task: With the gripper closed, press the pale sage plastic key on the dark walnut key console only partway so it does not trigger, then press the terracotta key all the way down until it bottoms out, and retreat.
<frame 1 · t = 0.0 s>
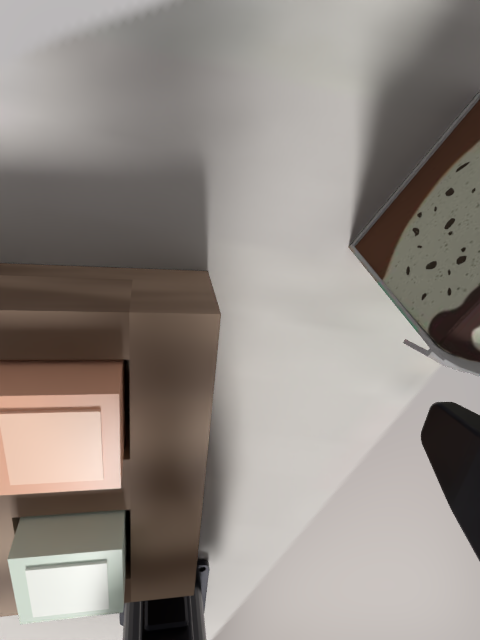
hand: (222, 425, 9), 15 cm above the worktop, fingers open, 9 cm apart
sage key: (74, 556, 23), point 5 cm above the worktop, slide at 0.0 cm
terracotta key: (62, 419, 19), point 5 cm above the worktop, slide at 0.0 cm
key console: (84, 420, 26), on the worktop
food container: (444, 208, 24), on the worktop
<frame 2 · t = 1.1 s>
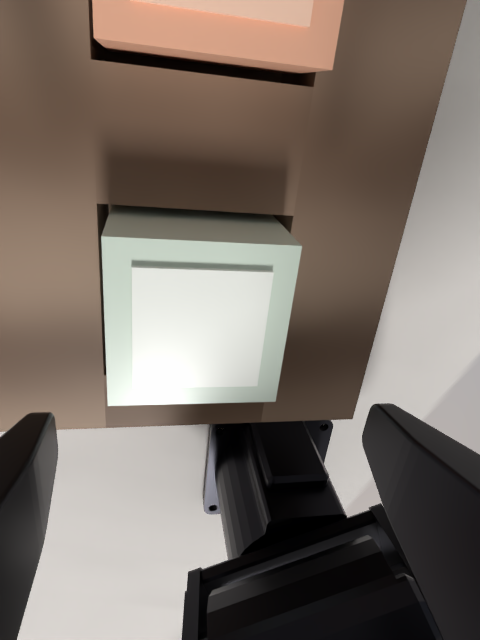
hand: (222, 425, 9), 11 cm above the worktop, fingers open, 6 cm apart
sage key: (194, 303, 14), point 5 cm above the worktop, slide at 0.0 cm
key console: (189, 130, 16), on the worktop
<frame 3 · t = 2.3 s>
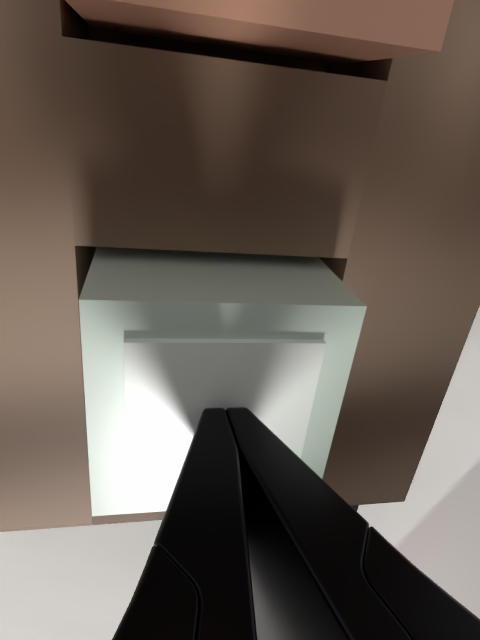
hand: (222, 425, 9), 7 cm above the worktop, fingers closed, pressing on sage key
sage key: (210, 371, 10), point 5 cm above the worktop, slide at 0.2 cm, touching gripper
key console: (201, 138, 13), on the worktop
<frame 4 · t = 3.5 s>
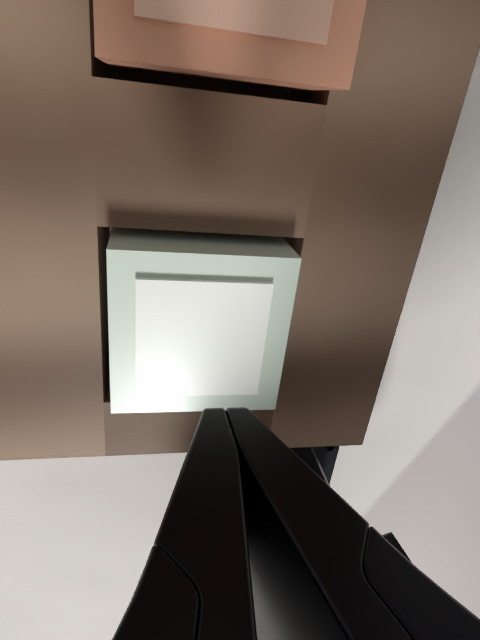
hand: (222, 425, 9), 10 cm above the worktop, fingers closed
sage key: (196, 313, 14), point 4 cm above the worktop, slide at 1.1 cm
key console: (194, 145, 16), on the worktop
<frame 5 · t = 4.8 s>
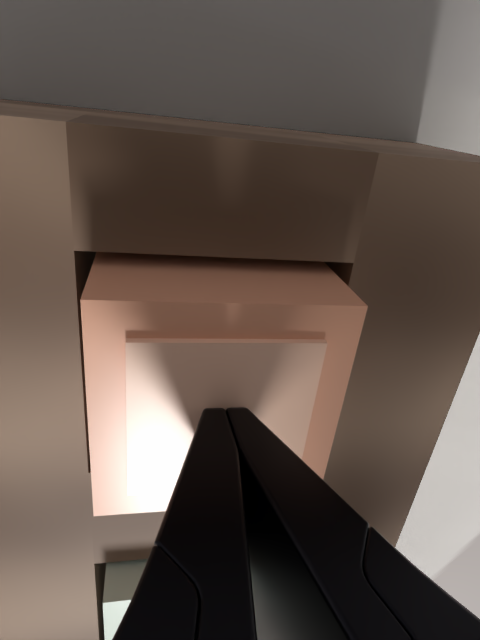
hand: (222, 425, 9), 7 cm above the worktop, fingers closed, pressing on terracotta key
sage key: (188, 588, 15), point 4 cm above the worktop, slide at 1.1 cm
terracotta key: (211, 371, 10), point 5 cm above the worktop, slide at 0.5 cm, touching gripper
key console: (186, 400, 16), on the worktop
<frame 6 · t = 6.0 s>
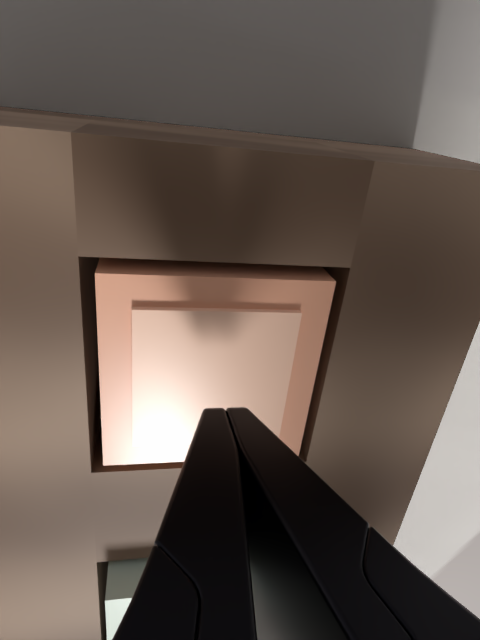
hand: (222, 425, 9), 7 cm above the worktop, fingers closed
sage key: (189, 587, 15), point 4 cm above the worktop, slide at 1.1 cm
terracotta key: (205, 342, 12), point 3 cm above the worktop, slide at 1.9 cm
key console: (187, 401, 17), on the worktop
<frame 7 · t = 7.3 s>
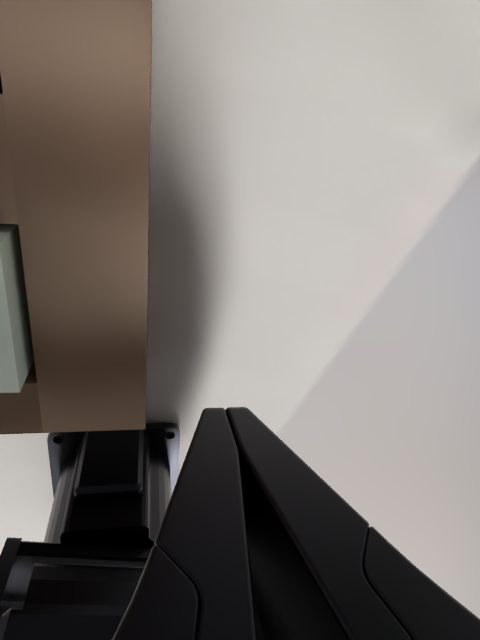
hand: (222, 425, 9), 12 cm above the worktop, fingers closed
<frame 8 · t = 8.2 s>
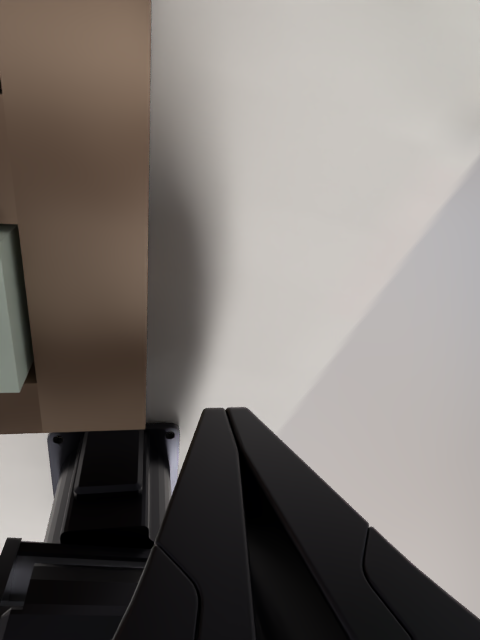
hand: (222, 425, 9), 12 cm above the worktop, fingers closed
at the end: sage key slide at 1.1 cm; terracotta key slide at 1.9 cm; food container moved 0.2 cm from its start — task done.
